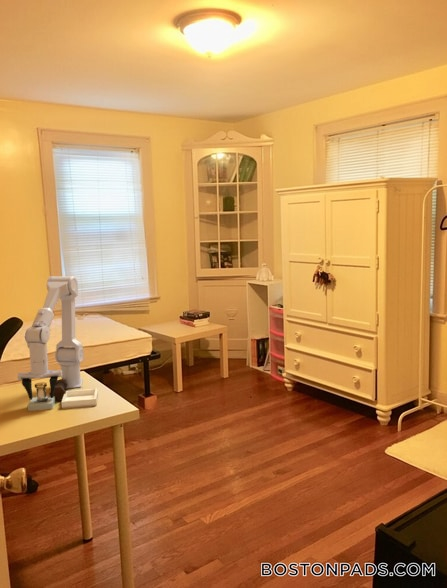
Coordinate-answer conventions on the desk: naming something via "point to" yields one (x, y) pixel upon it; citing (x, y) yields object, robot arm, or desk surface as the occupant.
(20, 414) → the desk surface
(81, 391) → the tray
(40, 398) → the pin
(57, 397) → the dark brown faceted bar
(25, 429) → the desk surface
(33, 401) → the grey square socket block
